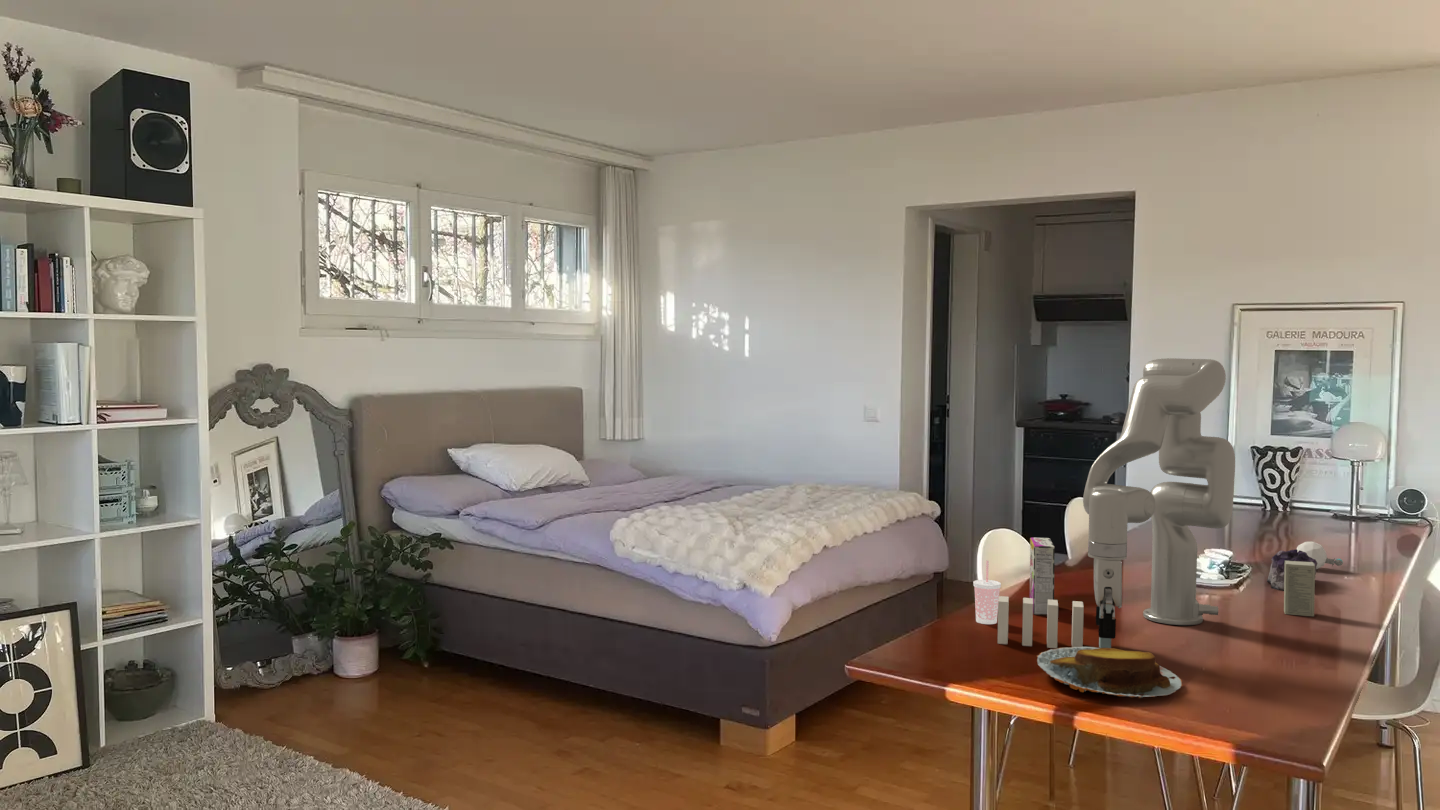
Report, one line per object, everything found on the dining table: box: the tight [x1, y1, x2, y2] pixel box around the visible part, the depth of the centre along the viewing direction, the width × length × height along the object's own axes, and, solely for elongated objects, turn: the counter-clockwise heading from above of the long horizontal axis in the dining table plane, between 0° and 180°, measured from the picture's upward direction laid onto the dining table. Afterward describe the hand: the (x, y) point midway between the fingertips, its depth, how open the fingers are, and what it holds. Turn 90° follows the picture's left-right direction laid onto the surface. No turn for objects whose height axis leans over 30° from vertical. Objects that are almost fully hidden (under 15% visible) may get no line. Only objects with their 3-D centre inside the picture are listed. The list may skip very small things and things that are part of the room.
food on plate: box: [1036, 646, 1184, 699], centre depth 199 cm, size 26×26×7 cm
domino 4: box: [1071, 600, 1085, 647], centre depth 221 cm, size 2×5×9 cm, turn 164°
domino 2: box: [1021, 597, 1034, 647], centre depth 224 cm, size 2×5×9 cm, turn 164°
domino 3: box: [1046, 599, 1059, 649], centre depth 222 cm, size 2×5×9 cm, turn 163°
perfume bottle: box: [1296, 541, 1344, 570], centre depth 298 cm, size 8×8×12 cm
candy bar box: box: [1029, 537, 1056, 616], centre depth 252 cm, size 11×5×16 cm, turn 168°
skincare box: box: [1283, 560, 1316, 617], centre depth 249 cm, size 6×4×12 cm
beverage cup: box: [972, 560, 1002, 625], centre depth 241 cm, size 6×6×14 cm
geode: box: [1266, 548, 1317, 592], centre depth 280 cm, size 20×12×10 cm, turn 145°
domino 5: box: [1098, 608, 1112, 648], centre depth 219 cm, size 2×5×9 cm, turn 164°
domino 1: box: [997, 595, 1010, 645], centre depth 225 cm, size 2×5×9 cm, turn 163°
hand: (1105, 631), depth 220 cm, fingers open, 9 cm apart
